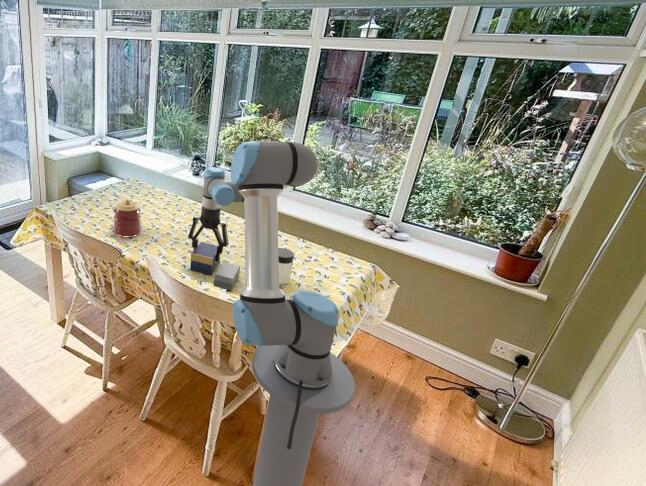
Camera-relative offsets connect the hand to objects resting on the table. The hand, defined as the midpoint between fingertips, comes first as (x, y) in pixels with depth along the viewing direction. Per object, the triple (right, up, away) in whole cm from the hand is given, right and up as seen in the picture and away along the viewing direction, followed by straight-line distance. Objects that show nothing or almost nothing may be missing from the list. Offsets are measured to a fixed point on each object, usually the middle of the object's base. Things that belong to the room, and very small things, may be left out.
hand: (206, 257), depth 170 cm
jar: (+28, -8, -6) cm, 30 cm away
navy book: (0, 0, -1) cm, 1 cm away
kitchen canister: (-34, +8, +30) cm, 46 cm away
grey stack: (+7, -8, -9) cm, 14 cm away
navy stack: (0, -4, +1) cm, 4 cm away
